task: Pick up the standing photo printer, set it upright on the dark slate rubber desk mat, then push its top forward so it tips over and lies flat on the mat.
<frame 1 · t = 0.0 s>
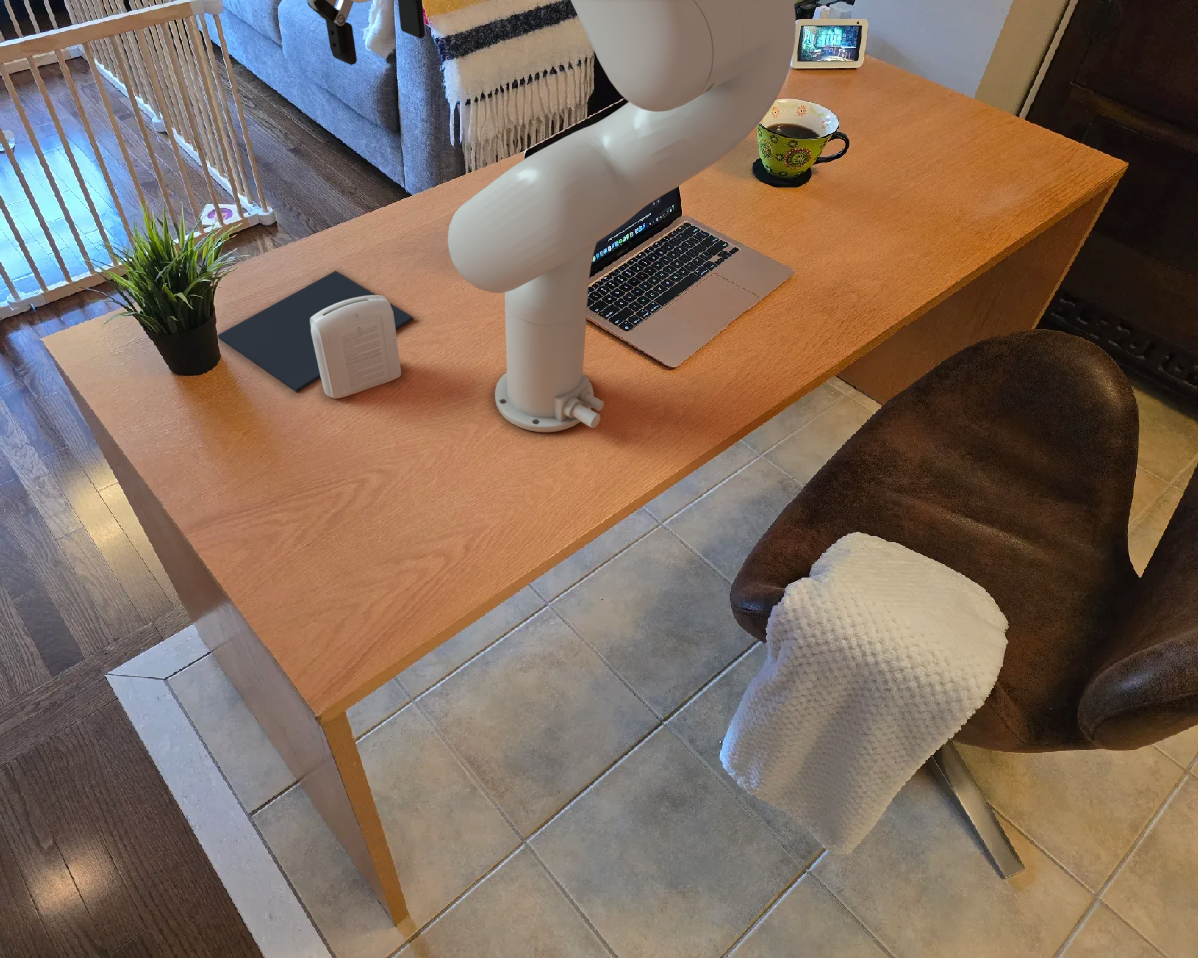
hand: (380, 47, 94), 37 cm above the table, tool pointing down, fingers open, 9 cm apart
photo printer: (363, 382, 113), on the table
desk mat: (317, 329, 119), on the table
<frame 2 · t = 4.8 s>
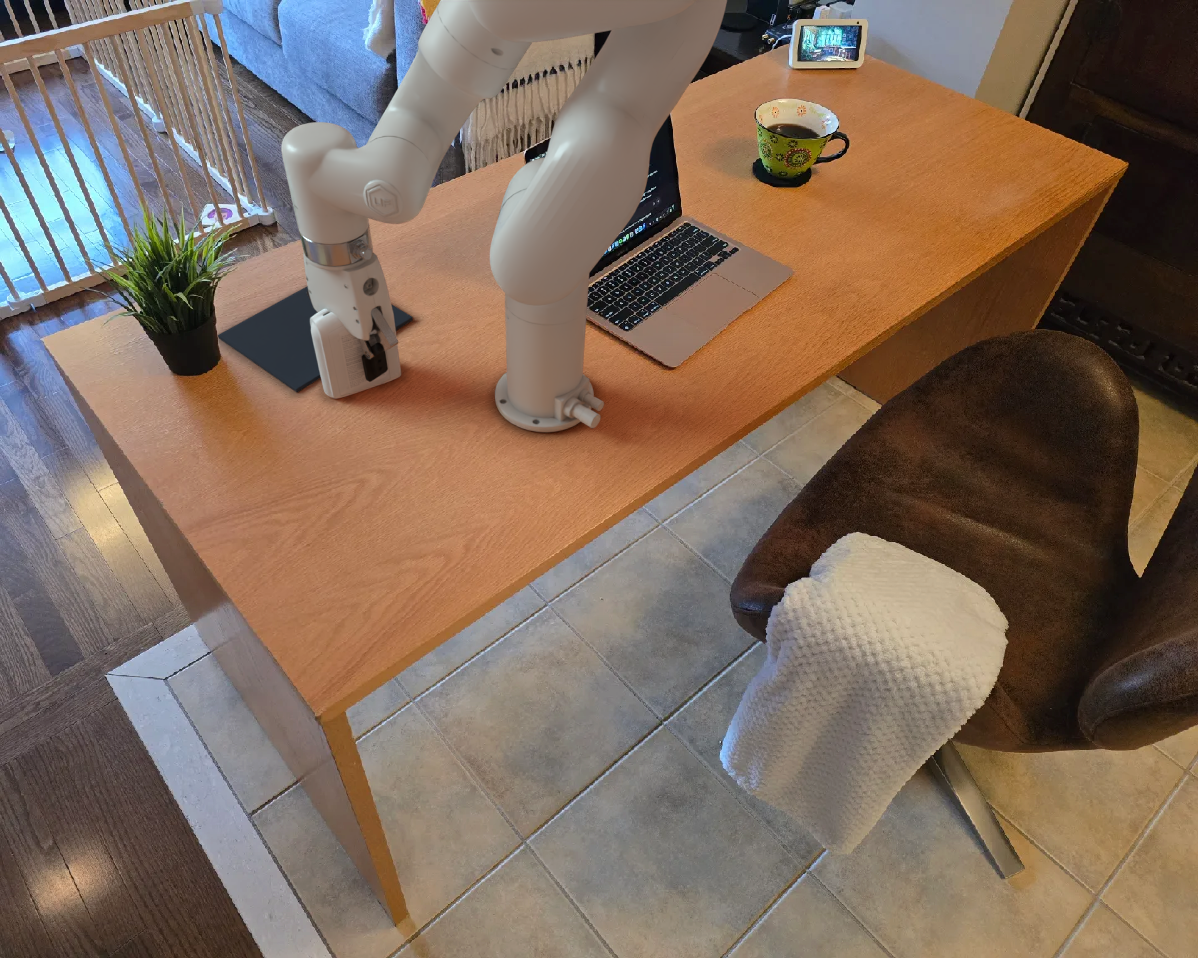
hand: (360, 363, 110), 3 cm above the table, tool pointing down, fingers closed on photo printer, 5 cm apart
photo printer: (363, 382, 113), on the table, touching gripper
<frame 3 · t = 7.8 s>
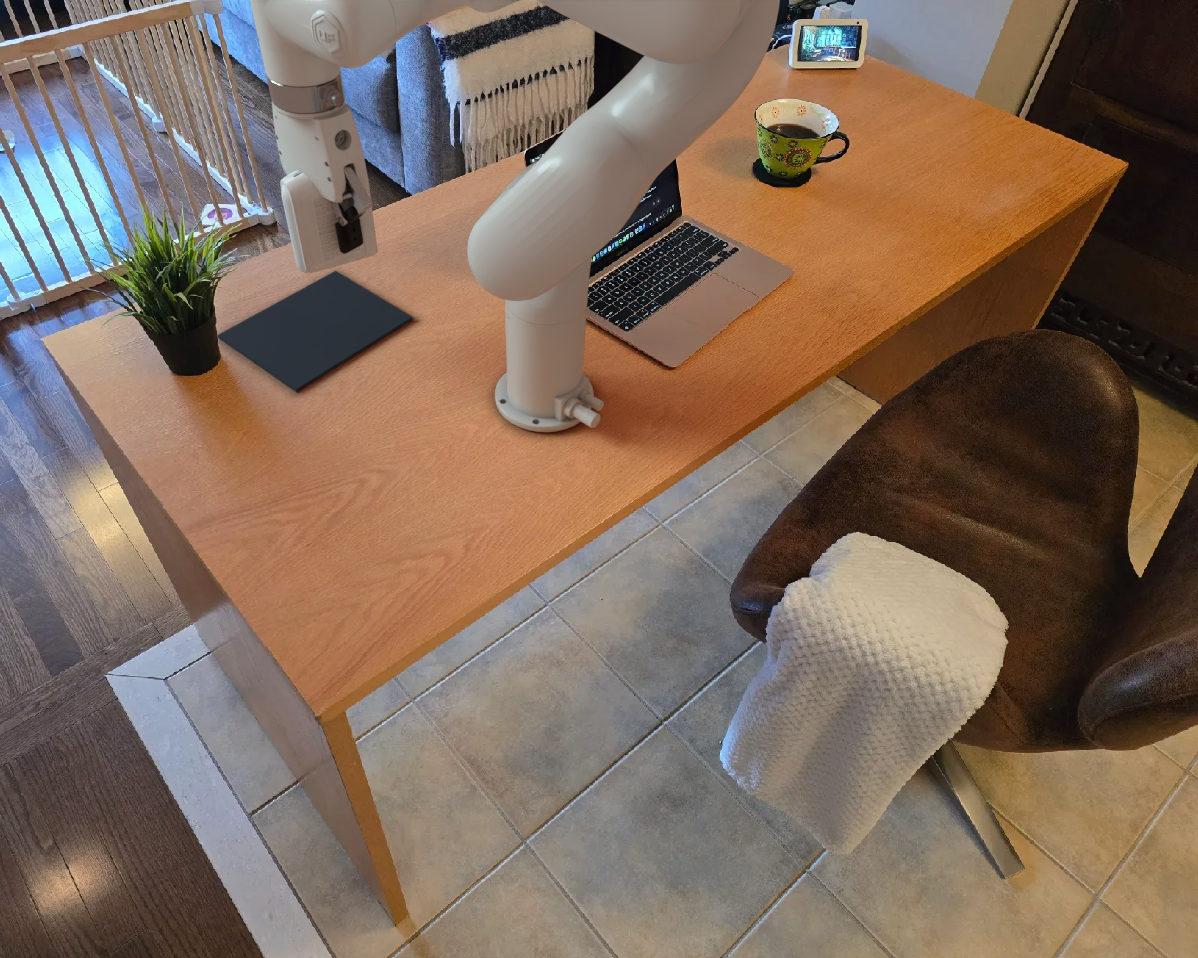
hand: (334, 237, 105), 16 cm above the table, tool pointing down, fingers closed on photo printer, 5 cm apart
photo printer: (338, 259, 108), point 13 cm above the table, touching gripper
when the fingers open (4 cm above the table, at t = 11.0 s): photo printer stays where it is, resting on desk mat.
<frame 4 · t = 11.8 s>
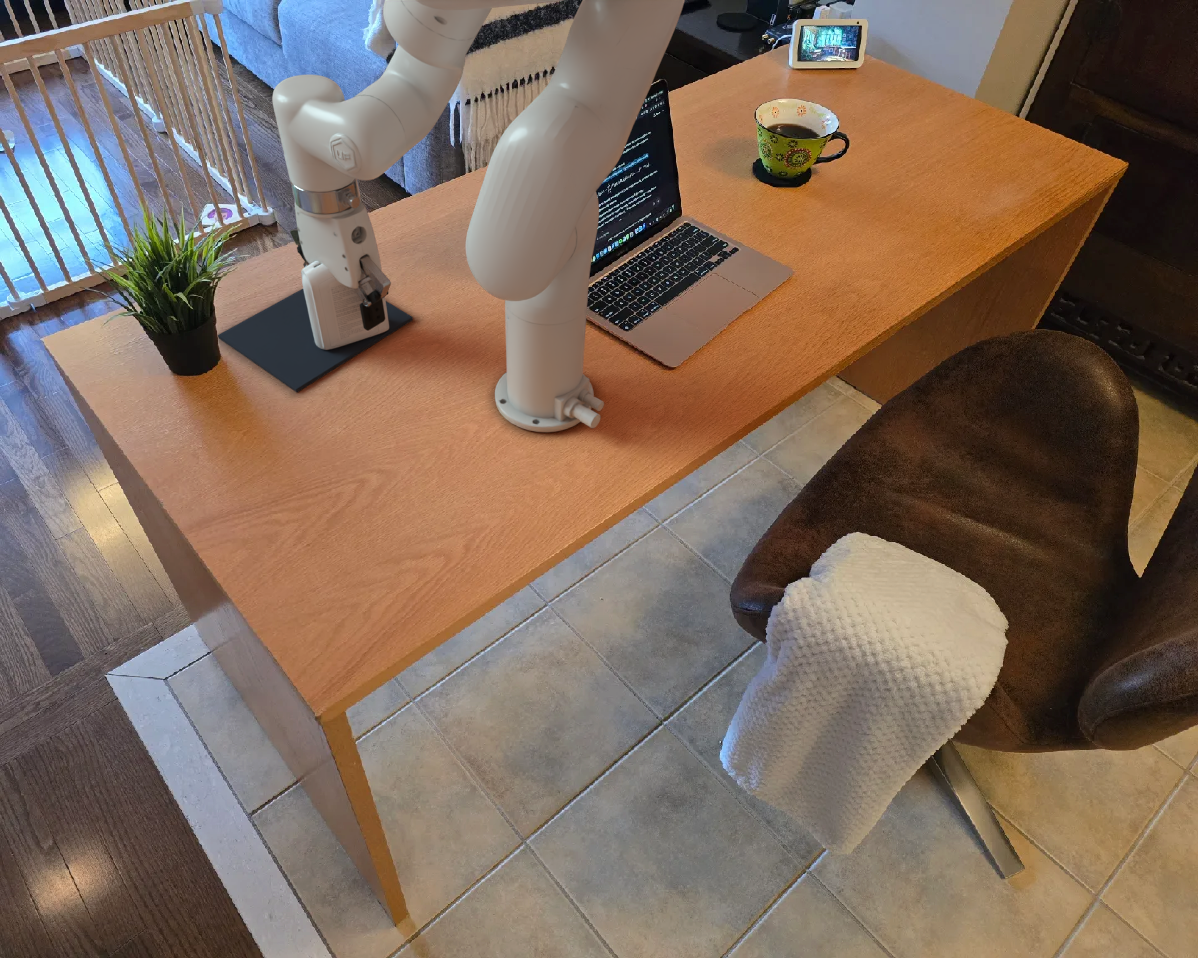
hand: (349, 309, 114), 5 cm above the table, tool pointing down, fingers open, 9 cm apart
photo printer: (353, 335, 118), resting on desk mat
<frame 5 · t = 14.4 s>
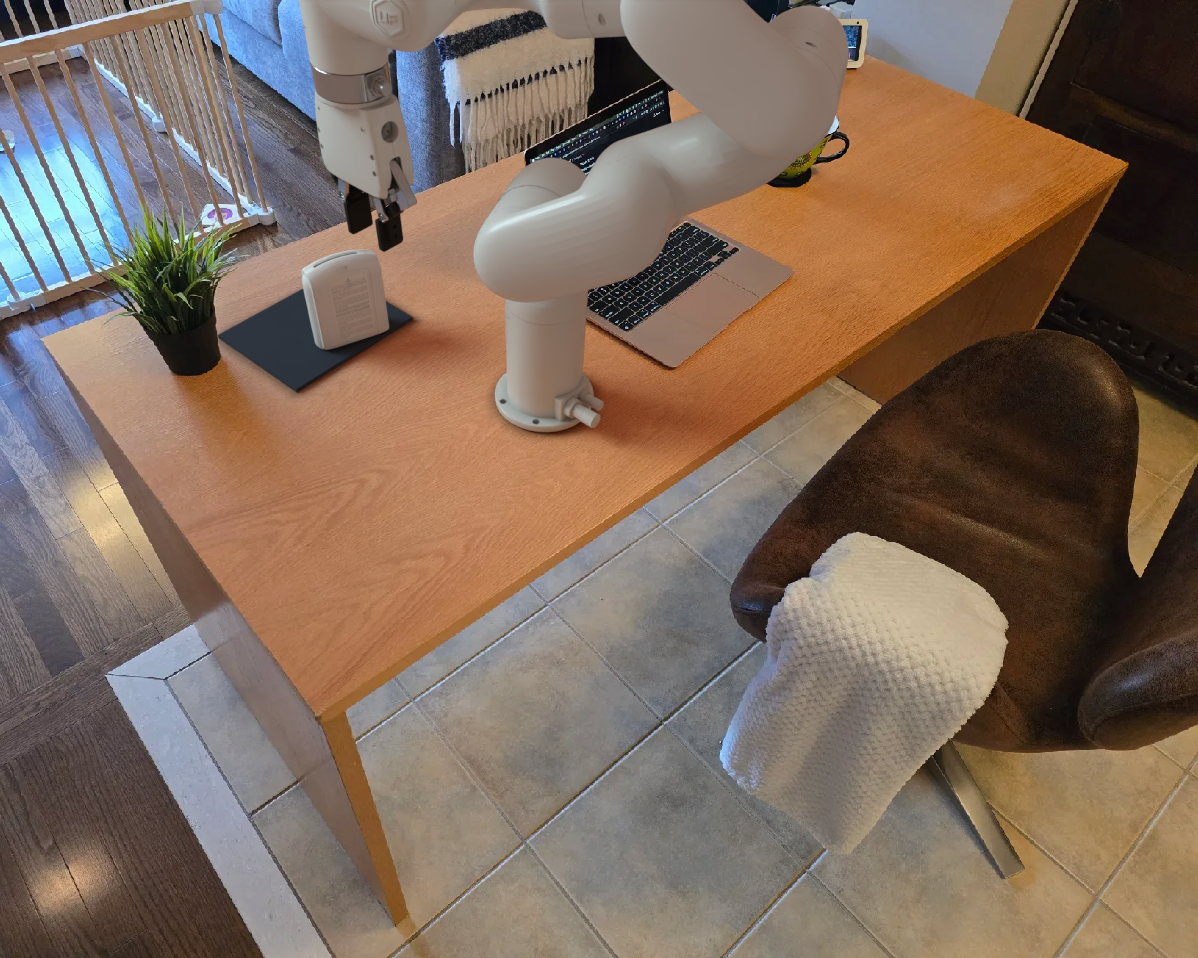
hand: (376, 236, 101), 19 cm above the table, tool pointing down, fingers open, 4 cm apart
nothing on the table moved.
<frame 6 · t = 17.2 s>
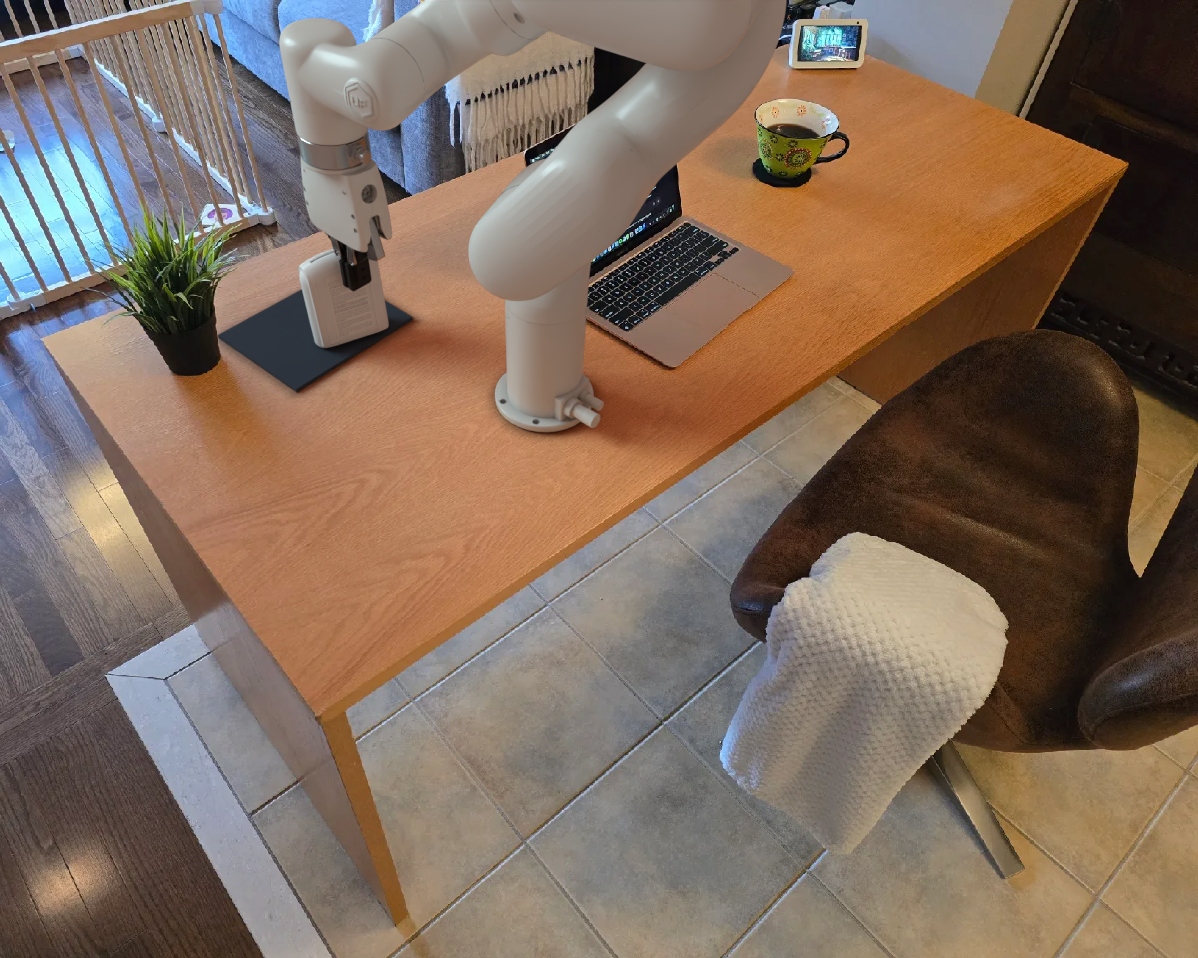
hand: (357, 284, 109), 10 cm above the table, tool pointing down, fingers closed
photo printer: (353, 334, 118), point 1 cm above the table, touching desk mat, gripper
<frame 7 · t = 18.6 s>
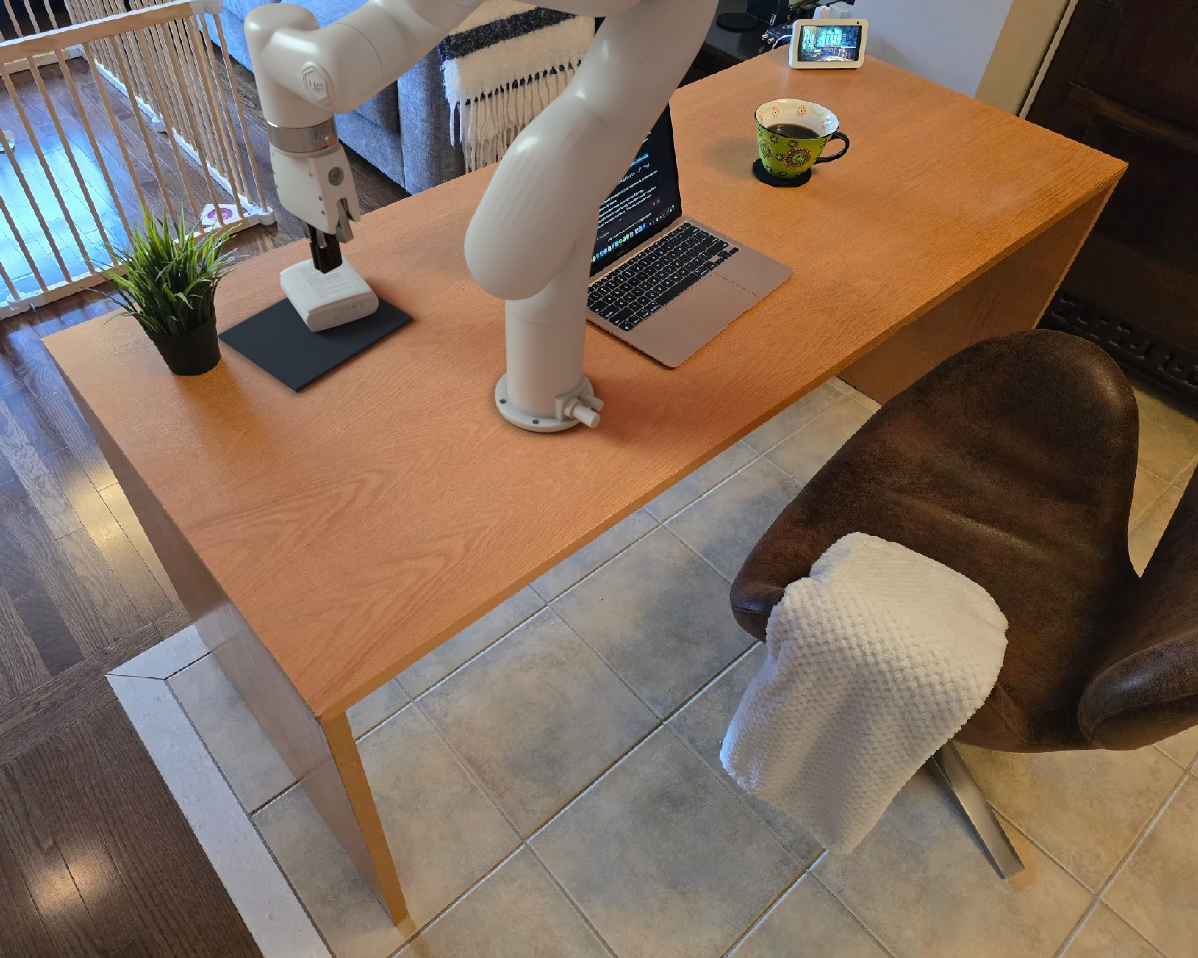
hand: (329, 266, 111), 10 cm above the table, tool pointing down, fingers closed
photo printer: (344, 313, 117), point 3 cm above the table, touching desk mat
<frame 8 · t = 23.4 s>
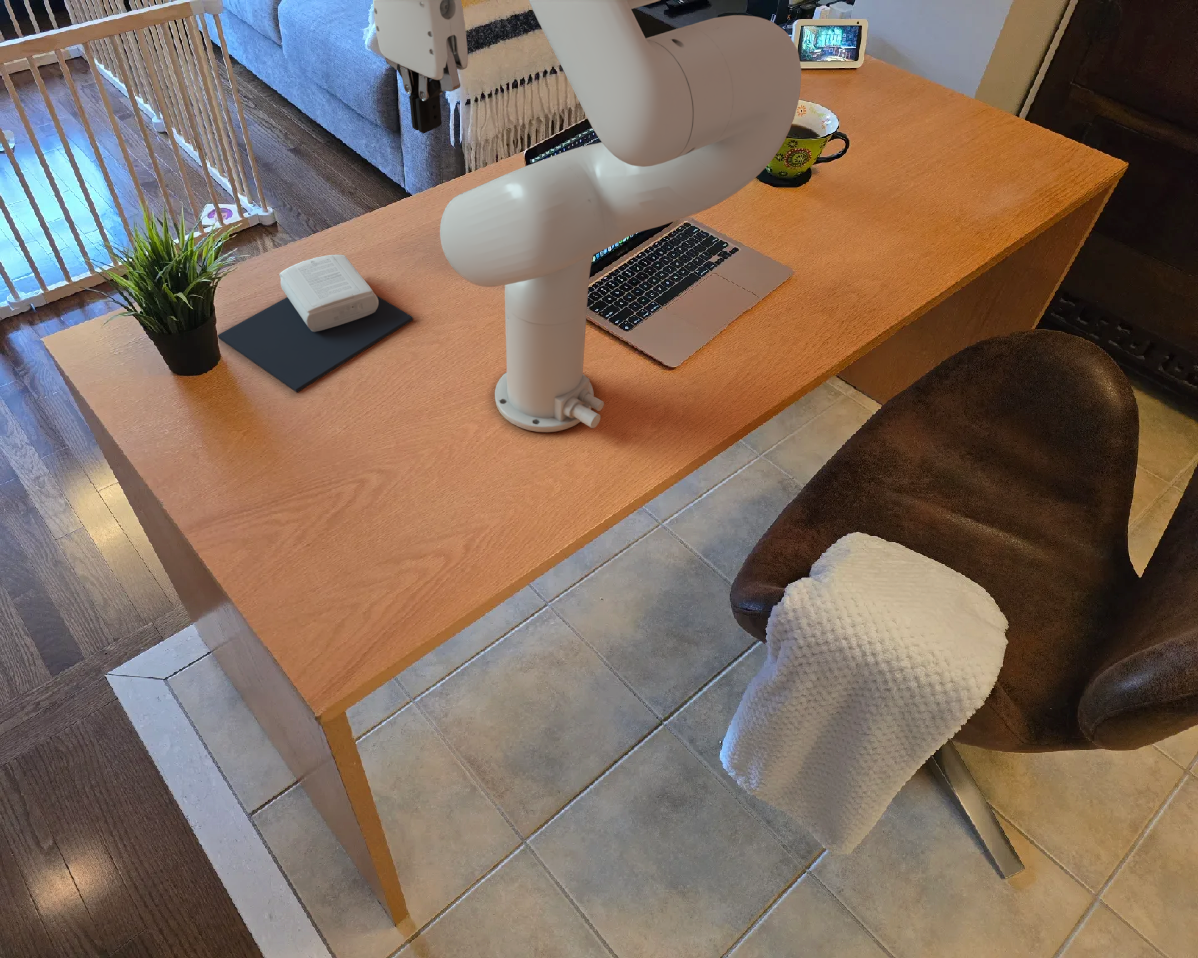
hand: (427, 127, 103), 27 cm above the table, tool pointing down, fingers closed
nothing on the table moved.
at the end: photo printer tilted 91°; photo printer inside the target area on the desk mat (4.0 cm from its centre), point 2.8 cm above the desk mat's base; the gripper is holding nothing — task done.
